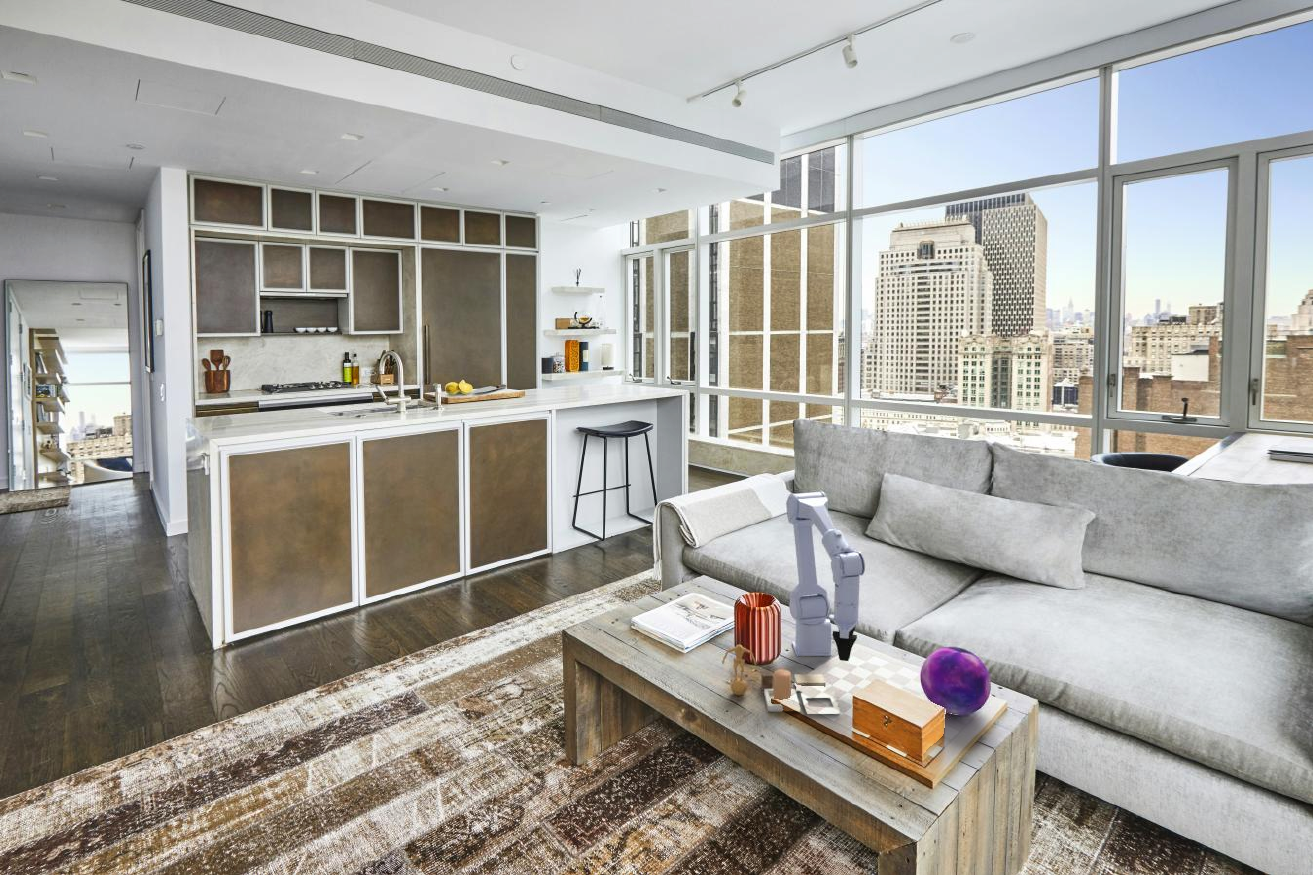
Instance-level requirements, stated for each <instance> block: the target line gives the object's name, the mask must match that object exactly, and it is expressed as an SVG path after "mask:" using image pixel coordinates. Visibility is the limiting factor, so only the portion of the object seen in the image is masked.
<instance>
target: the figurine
mask: <svg viewBox="0 0 1313 875" xmlns="http://www.w3.org/2000/svg"><path fill="white" fill-rule="evenodd" d="M732 652H734V655H735V657H736V658H734V659H733V670H734V673H735V675H734V679H733V680H732V681H731V683H730V689H731V690H730V691H731V692H732V693H733V694H734V695H736V696H742V695H744V694H746V692H747V690H748V684H747V682H746V680H744V672H745V671H744V670H745V668H746V667H745V661H746V660H745V658H743V656H744V653H748V654H750V656H751V658H752V660H753V661H754V662H753V664H754V666H757V661H756V659H755V657H754V653H753V652H752V651H751V650H749V649H747V648H745V647H743V645H742V644H736V646H734V647H732V648H730V649H728V650H726V652H725V654H724V656H723V659H722V661H721V664H722V665H724V663H725V661H726V660H725V659H727V656H728V654H729V653H732ZM739 666H740V668H741V670H740V672H741V673H740V677H738V670H737V669H738V667H739Z"/></svg>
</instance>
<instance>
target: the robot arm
mask: <svg viewBox="0 0 1313 875" xmlns="http://www.w3.org/2000/svg"><path fill="white" fill-rule="evenodd" d="M785 504H786V505H785V506H786V514H787V516H786V517H787V521H788V522H787V523H789V524H791V525H793V526H792V527H793V535H794V536H793V537H794V545H795V555H796V563H797V564H796V566H797V576H798V578H797V579H798V584H797V585H796V586H795V587H794V588H793V589H792V590H791V591H790V593H789V602H788V606H789V607H788V608H789V613H790V616H791V618H792V619H793V620H795V640H793V641H791V644H792V646H793V651H794V652H795V656H797V657H822V656H823V657H829V656H830V657H832V638H833V640H834V641H835V645H836V648H837V653H838V659H839V661H844V662H850V661H849V660H850V657H851V654H852V649H853V646H854V644H855V642H856V641H857V639H858V635H857V634H854V632H855V629H856V627H857V625H858V624H859V623H860V617H859V609H860V608H859V607H860V606H859V605H860V582H861V581H860V576H864V573H865V571H866V563H865V559H864V556H863V554H862V552H861V551H858V550H856V549H855V548H852V546H851V544H850V543H849V541H848V539H847V538H846V536H845V535H844V533H843V532H842V531H841V530H839V529H836V527H835V525H834V523H833V521H832V518H831V516H830V514H829V499H828V497H827V494H826V493H825V492H824V491H822V490H819V491H815V492H812V491H811V492H803V493H802V492H801V493H793V492H792V493H790V494H789V495H788V497H787V499H786V503H785ZM813 526H815V527H816V529H817V530H818V532H819V533H820V534H821V536H822V538H821V544H822V546H823V548H824V549H825V552H826V554H827V555H828V557H829V559H830V560H831V561H830V569H831V573H832V581H833V583H834V601H833V603H834V604H833V605H834V606H833V613H832V614H830V613H831V604H830V600H829V597H828V592H827V589H825V588H824V587H822V586H821V585H820V584H818V577H817V566H816V557H815V547H814V538H813ZM831 621H833V622H834V624H835V625H836V627H837V629H838V630H832V623H831Z"/></svg>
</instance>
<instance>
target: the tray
mask: <svg viewBox="0 0 1313 875" xmlns="http://www.w3.org/2000/svg"><path fill="white" fill-rule="evenodd" d="M763 695H764V700H765V704H766V708H767V712H768V713H769V712H770V713H772V712H773V713H782V711H783V708H782V707H783V706H782V705H781V704H772V703H771V698H772V697H773V696H774V688H773V689H764V691H763Z"/></svg>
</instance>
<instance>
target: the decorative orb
mask: <svg viewBox="0 0 1313 875" xmlns="http://www.w3.org/2000/svg"><path fill="white" fill-rule="evenodd" d="M990 676H991V675H990V673H989V671H988V668H987V667H986V664H984V662H983V661H982V660H981V659H980V658H979V657H978V656H977V655H976V654H974V653H973V652H971V651H969V650H967V649H965V648H961V647H957V646H946V647H941V648H938V649H936V650H934V651H932V653H930V654H929V655H928V656H927V657H926V659H925V660H924V661H923V664H922V666H921V670H920V684H921V688H922V690H923V693H924V695H925V697H926V698H927V699H928V700H930V701H931V702H933V703H935V704H937V705H940V706H942V707H944V708H945V709H946V712H948V713H952V714H958V715H957V716H968V715H972V714H974V713H976V712H977V711H980V709H982V708H983V707H984V705H985V704H986V703H987V702H988V700H989V699H990V698H989V697H990V694H991V690H992V683H991V682H992V681H991V677H990ZM930 701H929V702H930ZM931 702H930V703H931ZM946 712H945V713H946ZM948 713H947V714H948ZM952 714H951V715H952ZM967 714H968V715H967Z"/></svg>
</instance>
